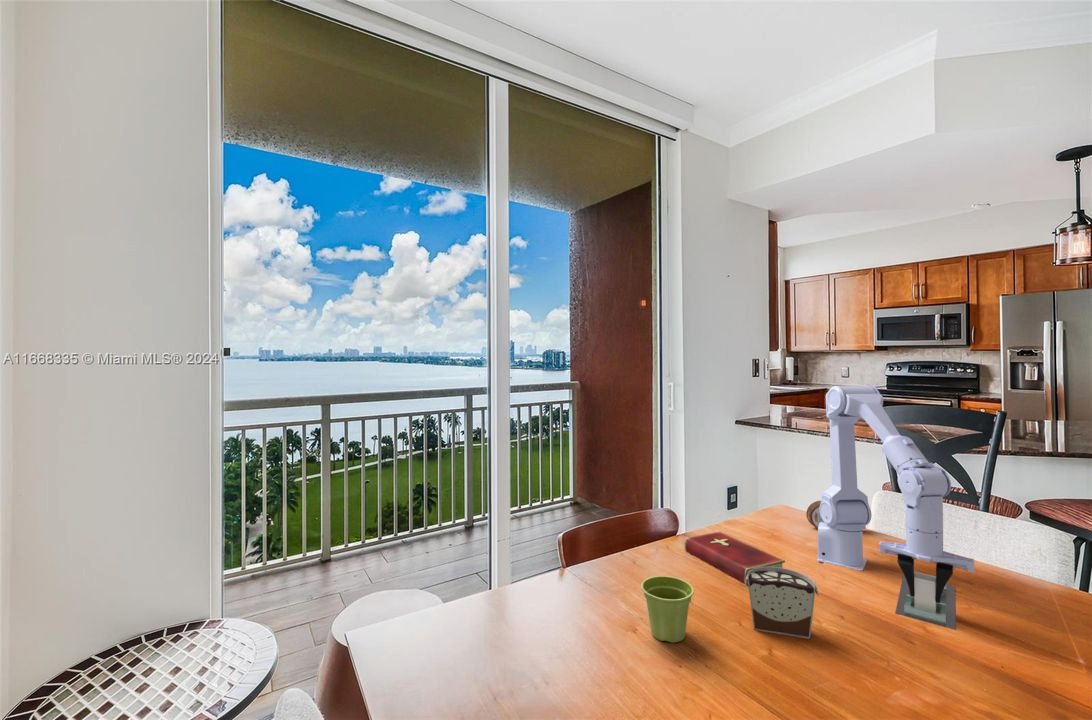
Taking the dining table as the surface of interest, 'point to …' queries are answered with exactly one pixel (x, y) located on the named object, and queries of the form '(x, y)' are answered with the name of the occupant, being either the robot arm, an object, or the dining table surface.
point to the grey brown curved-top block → (781, 601)
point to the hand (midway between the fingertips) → (925, 597)
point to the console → (941, 617)
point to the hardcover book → (729, 554)
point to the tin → (814, 514)
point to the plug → (925, 591)
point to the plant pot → (667, 606)
